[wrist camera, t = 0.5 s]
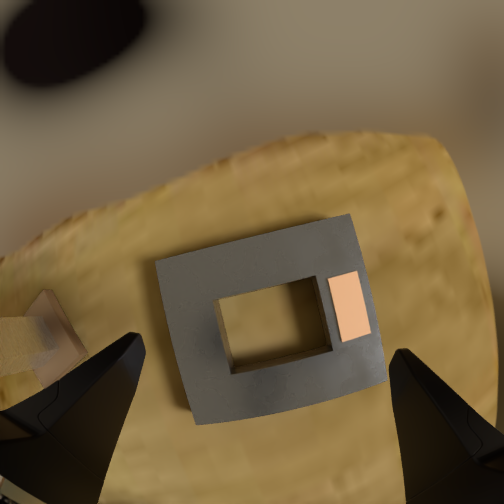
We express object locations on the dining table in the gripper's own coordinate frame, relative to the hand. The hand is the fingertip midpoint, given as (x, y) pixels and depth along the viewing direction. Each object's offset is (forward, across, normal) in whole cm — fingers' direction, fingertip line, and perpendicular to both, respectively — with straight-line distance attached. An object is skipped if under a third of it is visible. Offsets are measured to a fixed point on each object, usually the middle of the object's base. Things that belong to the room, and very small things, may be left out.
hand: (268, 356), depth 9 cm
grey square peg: (+8, +23, +12) cm, 27 cm away
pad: (+9, +23, +13) cm, 28 cm away
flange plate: (+12, 0, +9) cm, 15 cm away
